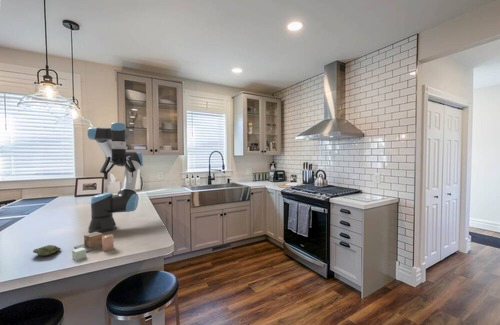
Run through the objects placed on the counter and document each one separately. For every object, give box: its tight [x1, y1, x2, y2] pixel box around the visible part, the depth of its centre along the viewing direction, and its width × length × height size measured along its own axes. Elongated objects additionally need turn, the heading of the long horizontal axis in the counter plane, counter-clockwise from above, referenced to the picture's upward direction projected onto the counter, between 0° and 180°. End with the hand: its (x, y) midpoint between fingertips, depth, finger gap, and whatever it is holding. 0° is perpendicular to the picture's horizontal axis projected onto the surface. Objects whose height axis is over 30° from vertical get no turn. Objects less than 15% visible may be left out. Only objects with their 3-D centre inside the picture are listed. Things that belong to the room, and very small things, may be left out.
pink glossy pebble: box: [101, 234, 115, 252], centre depth 115 cm, size 5×5×7 cm
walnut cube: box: [83, 232, 103, 248], centre depth 119 cm, size 6×6×6 cm
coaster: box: [73, 243, 102, 254], centre depth 119 cm, size 12×12×1 cm
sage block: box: [71, 247, 87, 261], centre depth 106 cm, size 4×4×4 cm
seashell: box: [32, 244, 62, 257], centre depth 110 cm, size 10×7×10 cm
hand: (119, 183), depth 135 cm, fingers open, 13 cm apart
